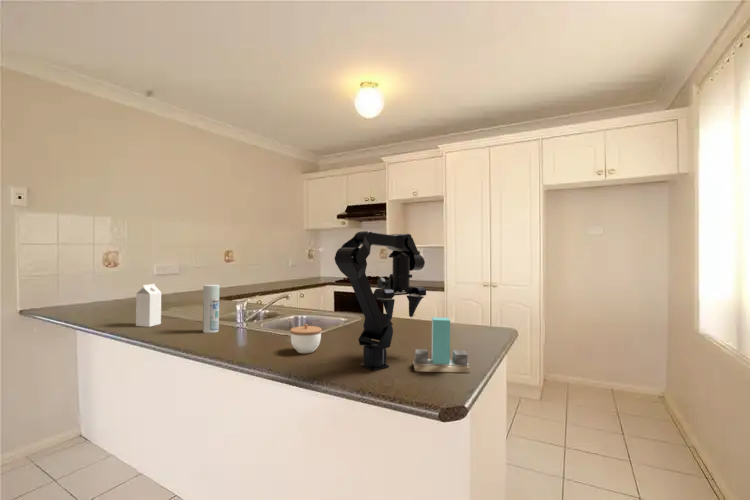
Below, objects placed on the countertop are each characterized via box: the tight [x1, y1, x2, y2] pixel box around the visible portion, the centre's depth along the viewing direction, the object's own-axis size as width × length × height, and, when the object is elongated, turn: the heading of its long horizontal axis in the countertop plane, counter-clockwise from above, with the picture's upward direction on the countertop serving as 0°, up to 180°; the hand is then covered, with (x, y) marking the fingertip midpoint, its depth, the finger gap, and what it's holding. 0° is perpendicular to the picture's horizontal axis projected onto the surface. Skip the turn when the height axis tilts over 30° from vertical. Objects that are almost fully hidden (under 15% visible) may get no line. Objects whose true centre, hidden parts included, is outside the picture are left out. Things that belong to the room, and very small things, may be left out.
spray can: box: [202, 284, 221, 334], centre depth 160 cm, size 6×6×20 cm
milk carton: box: [135, 283, 162, 328], centre depth 171 cm, size 7×7×19 cm
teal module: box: [431, 317, 451, 364], centre depth 112 cm, size 5×4×13 cm
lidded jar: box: [289, 323, 322, 354], centre depth 130 cm, size 11×11×9 cm
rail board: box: [412, 348, 471, 374], centre depth 112 cm, size 16×7×5 cm, turn 87°
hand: (400, 318), depth 123 cm, fingers open, 9 cm apart
